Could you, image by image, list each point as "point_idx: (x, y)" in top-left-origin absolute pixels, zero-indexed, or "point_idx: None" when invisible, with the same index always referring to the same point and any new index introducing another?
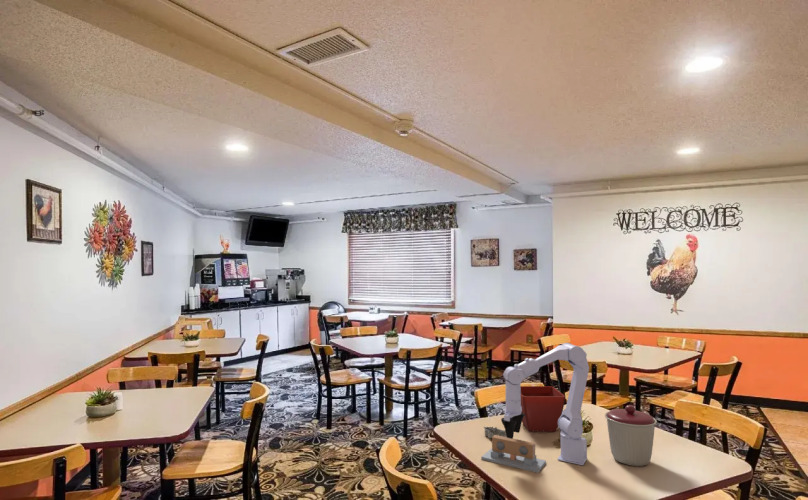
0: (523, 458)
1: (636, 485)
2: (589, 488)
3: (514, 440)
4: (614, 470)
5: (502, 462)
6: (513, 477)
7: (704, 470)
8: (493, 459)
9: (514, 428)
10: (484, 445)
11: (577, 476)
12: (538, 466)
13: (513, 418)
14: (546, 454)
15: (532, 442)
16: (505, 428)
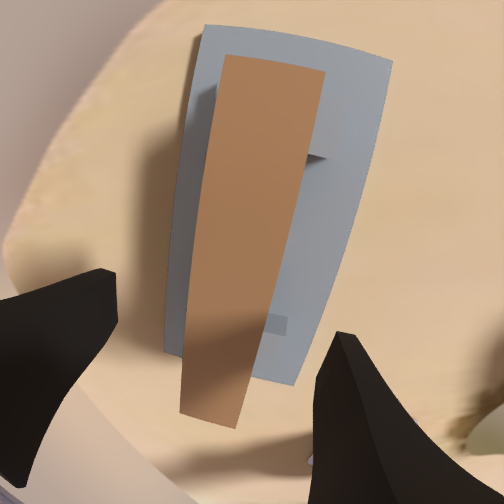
0: (282, 291)
1: (223, 500)
2: (147, 441)
3: (220, 308)
4: (297, 494)
5: (180, 169)
6: (75, 245)
7: None
8: (189, 107)
9: (335, 368)
10: (461, 26)
11: (210, 440)
12: None
13: (360, 485)
14: (406, 375)
15: (237, 418)
16: (7, 308)
